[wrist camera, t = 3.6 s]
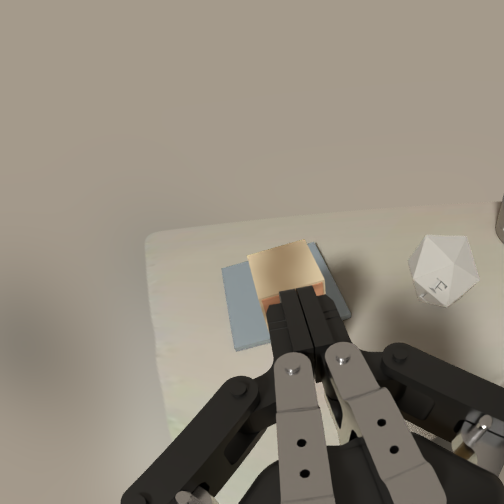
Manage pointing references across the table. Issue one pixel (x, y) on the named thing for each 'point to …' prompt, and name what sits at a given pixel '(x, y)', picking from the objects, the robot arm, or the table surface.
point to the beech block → (284, 272)
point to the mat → (248, 307)
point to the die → (443, 269)
